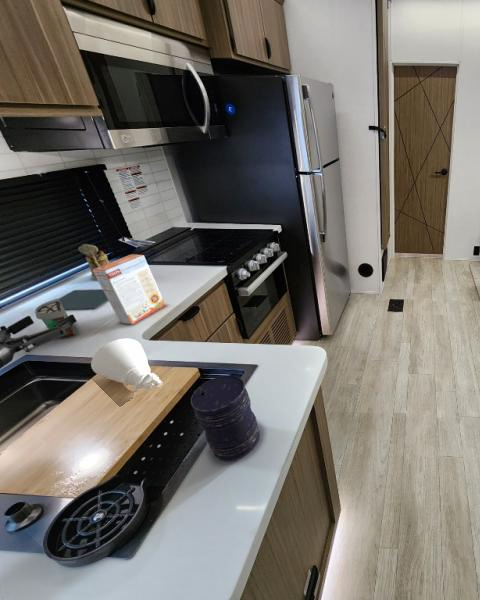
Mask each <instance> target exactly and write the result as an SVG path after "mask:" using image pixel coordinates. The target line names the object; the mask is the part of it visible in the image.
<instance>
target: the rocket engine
mask: <svg viewBox="0 0 480 600" xmlns="http://www.w3.org/2000/svg"><path fill="white" fill-rule="evenodd" d="M144 350H145V349H144V348H143V347H142V345H141V343H140V342H139V341H138V340H136V339H134V338H119V339H116V340H112V341H110V342H107V343H106V344H105V345H103V346H101V347H100V348H99V349H98V350H97V351H96V352H95V353H94V355H92V356H93V357H92V359H91V361H90V366H91V369H92V371H93V372H94V373H95V374H96V375H99V376H100V377H103V378H104V379H108V380H110V381H113V382H116V383H120V384H122V385H123V386H124V387H125V386H128V385H129V384H130V385H135V386H134V387H133V389H131V390H133V391H134V392H133V391H132V392H133V393H137V391H139V390H137V389H136V388H139V389H140V388H142V387H144V388H145V389H148V388H150V387H151V388H152V386H153V385H154V384H155V386H156V387H160V386H161V387H162V386H163V384H164V382H162V380H161V379H160V377H159V376H157V374H155V373H153V372H151V367H150V366H149V362H148V358H147V354H146V352H145V351H144ZM161 387H160V388H161Z"/></svg>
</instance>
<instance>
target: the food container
mask: <svg viewBox="0 0 480 600" xmlns="http://www.w3.org/2000/svg"><path fill="white" fill-rule="evenodd" d="M59 299H60V298H55V299H52V300H48V301H45V302H44V303H42V304H40V305H39V306H37V307H36V308H35V309H34V311H35V312H34V314H35V318H36V319H37V320H40V321H41V322H43V323H44V325H45V327H46V328H47V329H50V328H53V327H54V325H55V324H57V323H58V322H60V321H62V320H63V319H65V318H66V317H68V316H69V315H68V313H67V311H66V310H64V308H63V306H62V305H61V302H60V301H59ZM65 332H66V333H67V334H66V335H64V336H62V337H60V338H59V339H64V338H70V337H73V336H76V333H75V328H74V324H73V325H71V326H70V327H68V328H67V329H65Z"/></svg>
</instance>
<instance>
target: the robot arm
mask: <svg viewBox="0 0 480 600" xmlns="http://www.w3.org/2000/svg"><path fill="white" fill-rule="evenodd" d="M77 322H78V320H77V319H76V317H75V316H74V314H70V315H68V317H66V318H65V319H63V320H62V321H60V322H58V323H57V324H55V325H54V327H53V328H50V329H48V328H47V329H44V330H42V331H41V330H40V331H38V332H35V333H32V334H29V335H27V334H24V335H21V336H18V337H12V335H16V334H19V333H20V332H21V331H23V330H25V329H27V328H29V327H30V326H32V325H33V324H35V321H34V319H32V317H31V316H30V315H26V316H24V317H23V318H21V319H19V320H18V321H15V322H14V323H12V324H11V325H9V326H7V327H6V326H5V325H1V326H0V369H2V368H4V367H5V366H6V365H9V363H11V362H12V361H13V359H14V355H15V354H16V353H18V352H21V351H25V353H30V352H32V351H33V350H35V349H37V348H39V347H41V346H44V345H45V344H48V343H50V342H53V341H55V340H57V339H61V338H60V337H62V336H64V335H66V334H67V333H66V332H65V329H67V328H68V327H70V326H71V325H73V326H74V325H75V324H76V323H77ZM24 340H25V341H24Z"/></svg>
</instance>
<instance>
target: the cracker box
mask: <svg viewBox="0 0 480 600" xmlns="http://www.w3.org/2000/svg"><path fill="white" fill-rule="evenodd" d="M150 268H151V267H150V266H149V264H148V262H147V259H146V257H145V255H143V254H134V253H132V254H128V255H126V256H123V257H121V258H118V259H116V260H114V261H110V263H108V264H105V265H103V266H100V267H98V268H95V269H93V272H94V274H95V276H96V278H97V280H96V281H97V282H98V284H99V285H100V288H101V290H102V289H103V291H104V293H105V295H106V297H107V298H108V302H109V304H110V306H111V308H112V310H113V312H114V313H115V315H116V317H117V319H118V322H119V323H121V324H126V325H135V324H136V323H138V322H139V321H141V320H143V319H145V318H146V317H149V316H150V315H151V314H153V313H155V312H156V311H159V310H160V309H162V308H163V307H165V306H166V302H165V301H164V297H162V296H163V295H162V294H161V292H160V290H159V287H158V285H157V282H156V280H155V278H154V275H153V273H152V270H151V269H150Z"/></svg>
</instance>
